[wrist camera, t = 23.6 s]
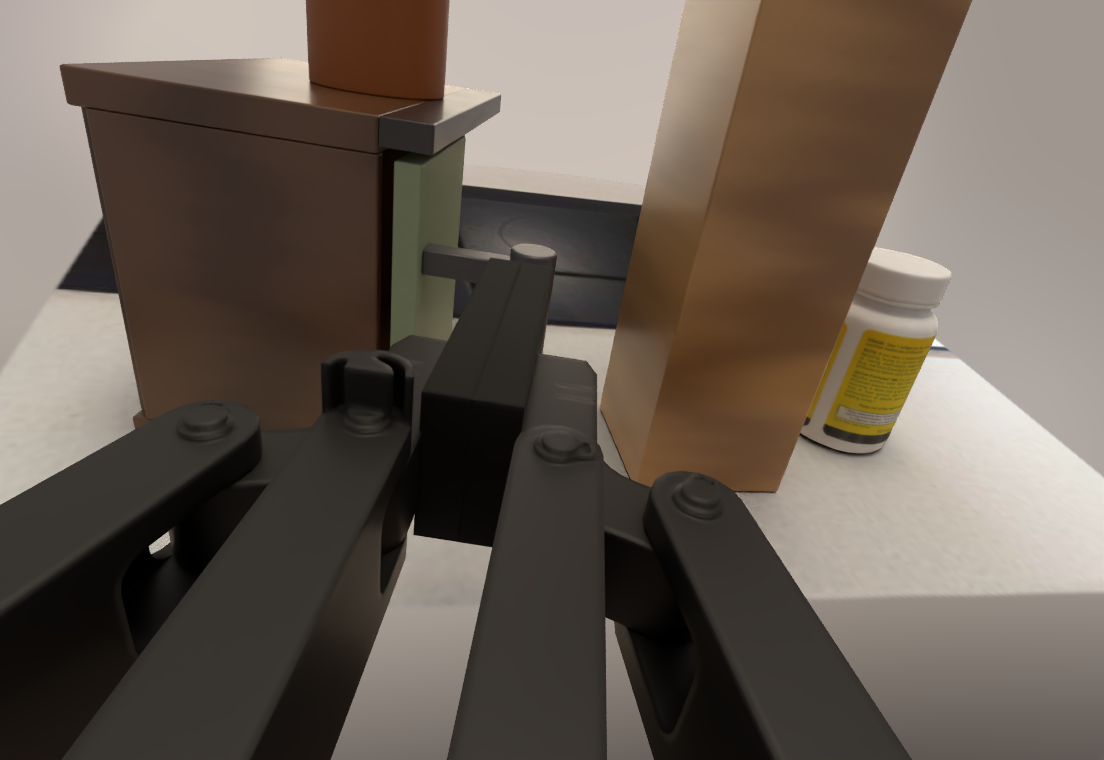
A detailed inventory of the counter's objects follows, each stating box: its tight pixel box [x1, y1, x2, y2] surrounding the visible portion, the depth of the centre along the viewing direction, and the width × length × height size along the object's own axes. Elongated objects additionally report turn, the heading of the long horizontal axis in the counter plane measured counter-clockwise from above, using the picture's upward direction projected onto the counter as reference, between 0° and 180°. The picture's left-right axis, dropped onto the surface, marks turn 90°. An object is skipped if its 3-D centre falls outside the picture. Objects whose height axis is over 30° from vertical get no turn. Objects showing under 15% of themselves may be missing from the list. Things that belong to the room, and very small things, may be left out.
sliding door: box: [390, 136, 557, 354], centre depth 22 cm, size 5×6×10 cm
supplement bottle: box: [800, 247, 951, 453], centre depth 28 cm, size 5×5×8 cm
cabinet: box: [60, 58, 501, 430], centre depth 25 cm, size 10×13×12 cm
